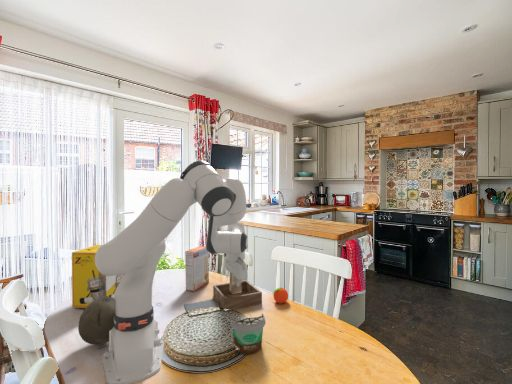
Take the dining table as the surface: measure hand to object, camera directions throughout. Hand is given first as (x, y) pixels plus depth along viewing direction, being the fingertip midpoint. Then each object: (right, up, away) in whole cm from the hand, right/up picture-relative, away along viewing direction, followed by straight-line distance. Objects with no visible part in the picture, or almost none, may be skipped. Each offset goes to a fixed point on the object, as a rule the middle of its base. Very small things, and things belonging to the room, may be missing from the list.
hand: (235, 284), depth 128 cm
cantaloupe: (-41, +7, -32) cm, 53 cm away
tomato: (+21, -8, -3) cm, 23 cm away
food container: (+8, -8, -40) cm, 42 cm away
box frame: (+1, -8, 0) cm, 8 cm away
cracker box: (-22, -8, +18) cm, 29 cm away
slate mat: (-14, -8, -8) cm, 18 cm away
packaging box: (-64, -8, -1) cm, 65 cm away
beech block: (0, -4, 0) cm, 4 cm away
